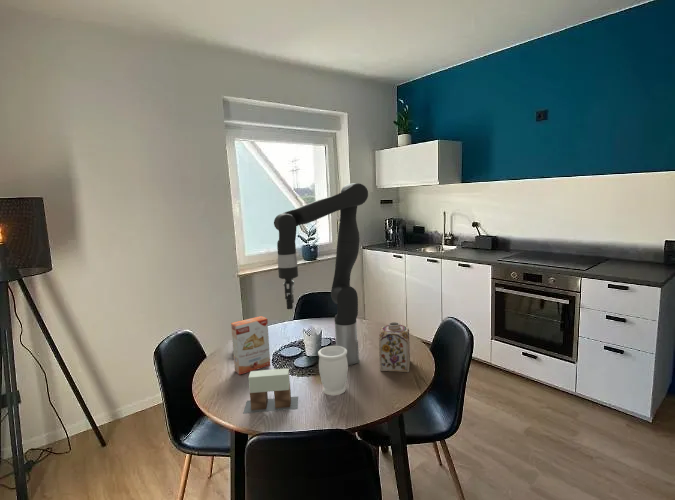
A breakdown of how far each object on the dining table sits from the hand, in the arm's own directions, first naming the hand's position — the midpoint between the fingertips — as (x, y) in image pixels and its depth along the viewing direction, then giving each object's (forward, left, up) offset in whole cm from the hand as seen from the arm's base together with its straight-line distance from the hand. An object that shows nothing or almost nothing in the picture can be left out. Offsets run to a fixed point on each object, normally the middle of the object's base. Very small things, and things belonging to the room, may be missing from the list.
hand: (290, 305), depth 148 cm
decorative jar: (-41, 0, -28) cm, 50 cm away
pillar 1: (+11, +23, -28) cm, 38 cm away
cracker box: (+18, -8, -28) cm, 34 cm away
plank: (+7, +23, -22) cm, 32 cm away
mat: (+7, +23, -28) cm, 37 cm away
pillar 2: (+3, +23, -28) cm, 36 cm away
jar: (-15, +16, -28) cm, 36 cm away
